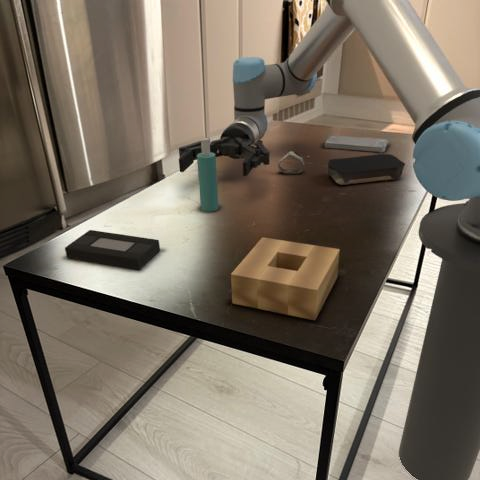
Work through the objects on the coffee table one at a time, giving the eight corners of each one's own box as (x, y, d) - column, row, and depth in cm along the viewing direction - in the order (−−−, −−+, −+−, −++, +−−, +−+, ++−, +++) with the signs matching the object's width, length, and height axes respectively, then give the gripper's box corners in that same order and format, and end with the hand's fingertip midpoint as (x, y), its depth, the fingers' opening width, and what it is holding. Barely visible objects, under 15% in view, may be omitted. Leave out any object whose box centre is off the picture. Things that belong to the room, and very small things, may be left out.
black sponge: (388, 168, 121) (390, 153, 118) (404, 180, 114) (407, 163, 112) (323, 175, 118) (324, 159, 116) (336, 187, 111) (337, 171, 109)
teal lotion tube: (221, 206, 104) (217, 137, 96) (213, 212, 102) (209, 142, 94) (205, 204, 106) (200, 135, 98) (198, 210, 103) (192, 140, 95)
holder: (337, 277, 79) (339, 249, 76) (315, 320, 70) (317, 289, 67) (262, 264, 83) (262, 237, 81) (232, 303, 74) (230, 273, 71)
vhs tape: (91, 239, 93) (89, 229, 92) (160, 250, 89) (159, 239, 88) (67, 258, 87) (64, 247, 86) (139, 270, 83) (137, 259, 82)
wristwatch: (304, 174, 119) (305, 153, 116) (278, 175, 119) (279, 154, 116) (302, 169, 122) (303, 148, 119) (277, 170, 122) (277, 150, 119)
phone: (383, 152, 131) (384, 147, 130) (323, 147, 136) (323, 142, 135) (388, 144, 137) (389, 139, 136) (330, 139, 142) (331, 134, 141)
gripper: (291, 157, 118) (272, 189, 101) (191, 152, 124) (157, 181, 107) (292, 124, 114) (272, 151, 97) (188, 120, 120) (153, 145, 103)
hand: (212, 167), depth 102 cm, fingers open, 13 cm apart
